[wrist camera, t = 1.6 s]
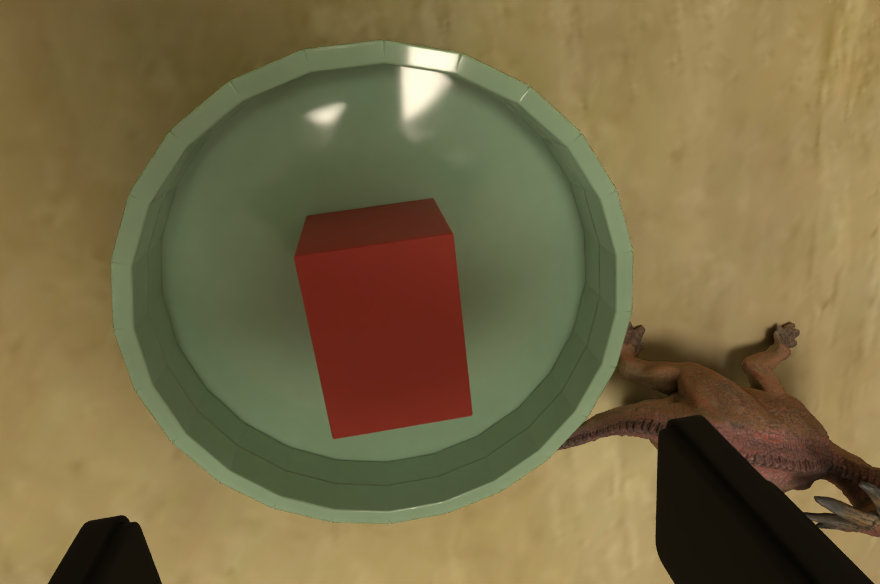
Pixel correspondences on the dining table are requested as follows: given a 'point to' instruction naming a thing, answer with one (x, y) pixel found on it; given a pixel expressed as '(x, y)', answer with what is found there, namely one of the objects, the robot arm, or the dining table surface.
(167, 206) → the bowl
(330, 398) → the block
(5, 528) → the dining table surface
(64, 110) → the dining table surface
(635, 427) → the dinosaur figurine
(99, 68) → the dining table surface
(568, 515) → the dining table surface
